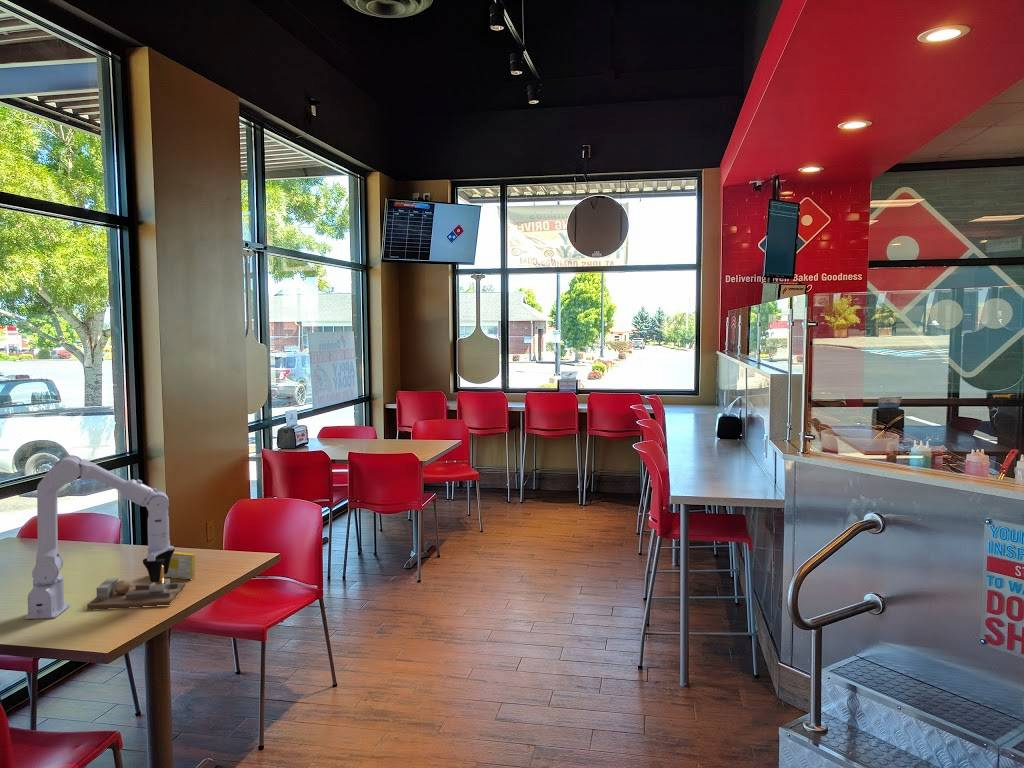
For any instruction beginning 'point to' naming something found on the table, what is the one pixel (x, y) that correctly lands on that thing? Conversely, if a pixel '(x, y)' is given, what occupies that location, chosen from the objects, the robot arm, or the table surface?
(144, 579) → the table surface
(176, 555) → the candy box
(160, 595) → the press bench
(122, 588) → the tan oval solid
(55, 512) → the robot arm
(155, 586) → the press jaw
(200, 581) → the table surface
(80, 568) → the table surface
